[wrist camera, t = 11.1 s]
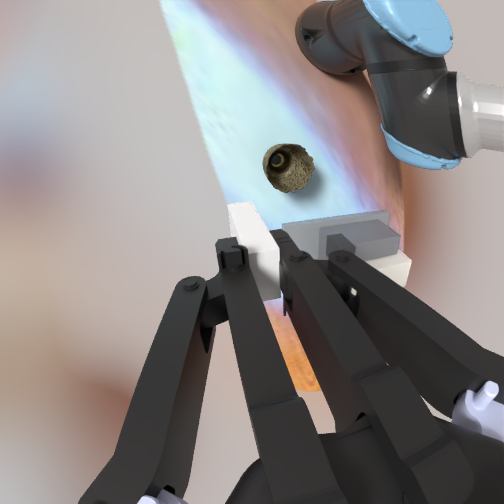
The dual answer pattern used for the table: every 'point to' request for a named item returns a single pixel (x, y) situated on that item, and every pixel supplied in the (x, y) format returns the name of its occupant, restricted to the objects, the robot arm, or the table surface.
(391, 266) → the peg
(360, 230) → the guide
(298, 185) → the cup
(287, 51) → the table surface
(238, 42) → the table surface
